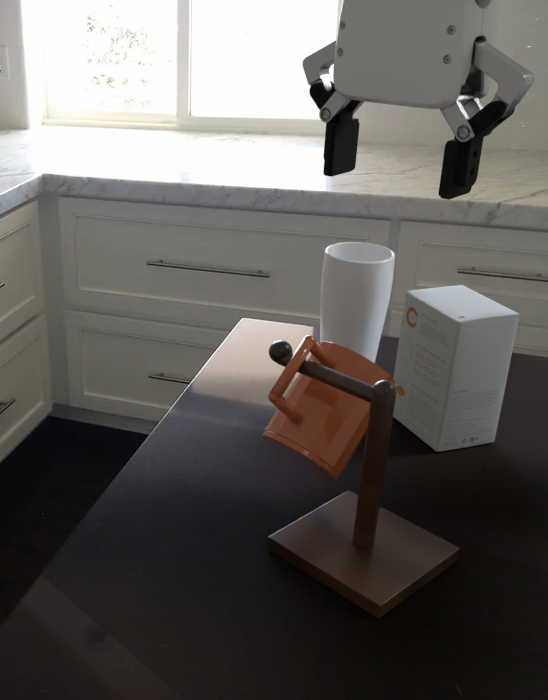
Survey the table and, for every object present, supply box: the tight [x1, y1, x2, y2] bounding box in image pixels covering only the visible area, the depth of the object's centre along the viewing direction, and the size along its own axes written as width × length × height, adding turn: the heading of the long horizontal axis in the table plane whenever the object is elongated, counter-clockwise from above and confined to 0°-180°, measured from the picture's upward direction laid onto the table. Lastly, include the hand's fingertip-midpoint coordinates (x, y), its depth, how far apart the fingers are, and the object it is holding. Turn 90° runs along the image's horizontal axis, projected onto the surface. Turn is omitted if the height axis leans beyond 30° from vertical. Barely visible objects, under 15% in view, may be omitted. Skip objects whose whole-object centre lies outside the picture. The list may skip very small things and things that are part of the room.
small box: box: [392, 284, 520, 453], centre depth 80 cm, size 8×6×13 cm
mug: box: [261, 334, 395, 482], centre depth 68 cm, size 11×7×9 cm
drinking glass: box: [319, 241, 396, 364], centre depth 88 cm, size 7×7×15 cm
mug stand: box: [266, 339, 461, 619], centre depth 65 cm, size 10×15×15 cm, turn 38°
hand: (393, 183), depth 64 cm, fingers open, 9 cm apart
